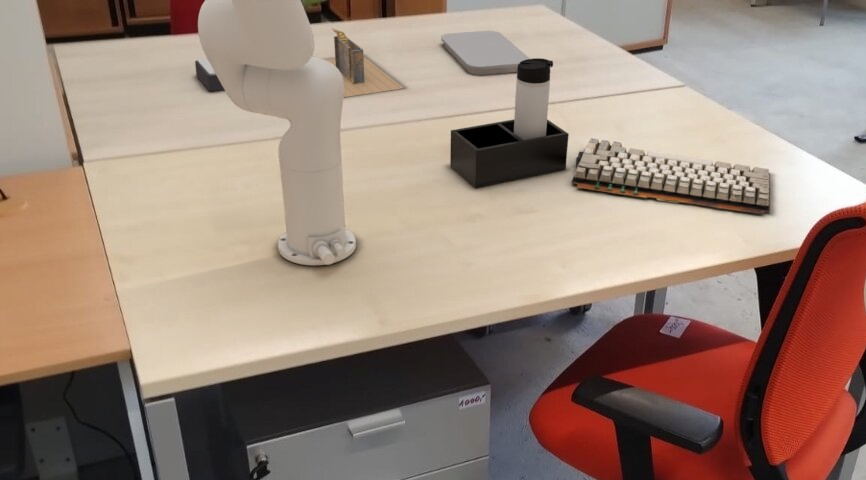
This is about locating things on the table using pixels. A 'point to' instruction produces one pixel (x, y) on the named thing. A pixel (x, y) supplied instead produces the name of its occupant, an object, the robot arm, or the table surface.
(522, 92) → the travel mug
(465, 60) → the grey flat block
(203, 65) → the calculator
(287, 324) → the table surface
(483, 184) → the caddy
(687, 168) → the mechanical keyboard
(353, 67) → the architectural model on board
